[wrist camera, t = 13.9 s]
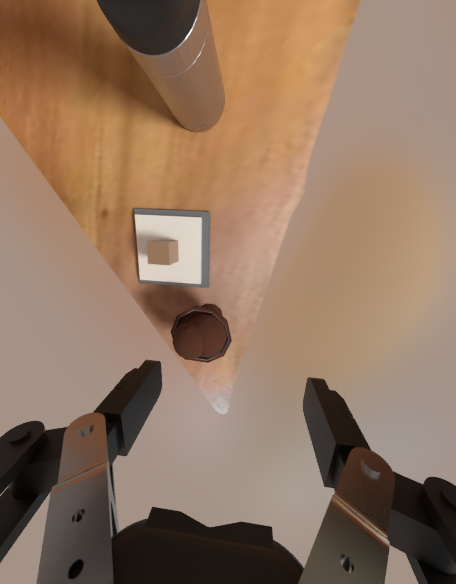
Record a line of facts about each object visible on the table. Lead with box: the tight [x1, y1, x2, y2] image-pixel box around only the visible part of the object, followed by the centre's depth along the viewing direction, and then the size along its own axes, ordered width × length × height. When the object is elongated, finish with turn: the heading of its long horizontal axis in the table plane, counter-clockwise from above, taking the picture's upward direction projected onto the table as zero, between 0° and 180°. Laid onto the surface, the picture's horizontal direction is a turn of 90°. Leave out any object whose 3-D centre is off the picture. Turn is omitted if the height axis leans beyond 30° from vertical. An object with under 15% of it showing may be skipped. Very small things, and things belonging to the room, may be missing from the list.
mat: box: [134, 209, 210, 288], centre depth 43 cm, size 15×15×1 cm
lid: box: [135, 214, 202, 284], centre depth 40 cm, size 13×13×6 cm
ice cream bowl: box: [171, 304, 232, 363], centre depth 40 cm, size 11×11×15 cm
